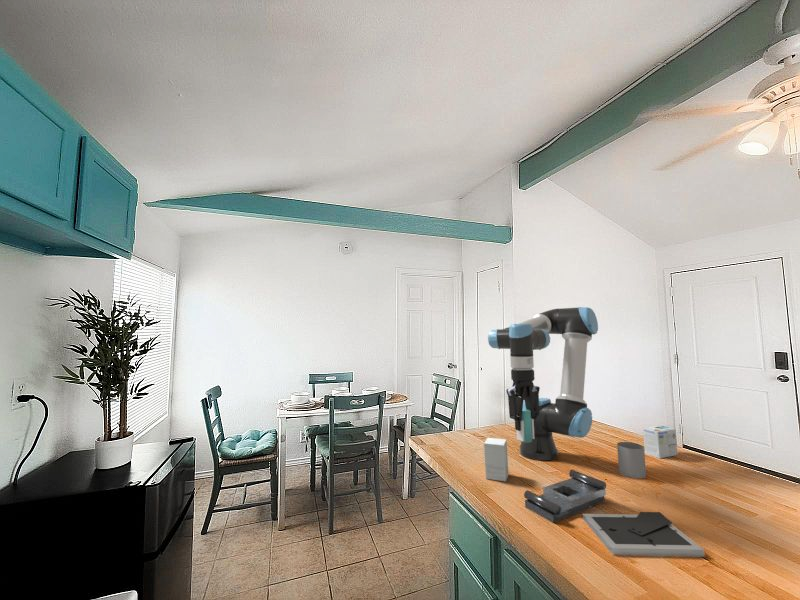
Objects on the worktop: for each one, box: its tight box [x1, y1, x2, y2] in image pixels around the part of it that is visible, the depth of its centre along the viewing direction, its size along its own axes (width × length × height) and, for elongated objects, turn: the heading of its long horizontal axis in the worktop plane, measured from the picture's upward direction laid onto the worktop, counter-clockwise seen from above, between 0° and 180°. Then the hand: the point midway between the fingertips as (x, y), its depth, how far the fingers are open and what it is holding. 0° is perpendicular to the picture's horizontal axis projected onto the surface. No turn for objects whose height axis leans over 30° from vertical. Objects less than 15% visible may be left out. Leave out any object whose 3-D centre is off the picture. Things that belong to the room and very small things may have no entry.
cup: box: [616, 441, 647, 479], centre depth 130 cm, size 8×8×10 cm
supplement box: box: [483, 437, 509, 482], centre depth 130 cm, size 7×7×13 cm
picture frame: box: [582, 511, 706, 558], centre depth 91 cm, size 16×3×21 cm
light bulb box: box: [642, 425, 678, 459], centre depth 148 cm, size 11×7×11 cm, turn 108°
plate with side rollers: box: [523, 469, 607, 524], centre depth 108 cm, size 11×24×6 cm, turn 118°
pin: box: [520, 409, 532, 443], centre depth 119 cm, size 4×4×10 cm
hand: (525, 438), depth 119 cm, fingers closed on pin, 4 cm apart
